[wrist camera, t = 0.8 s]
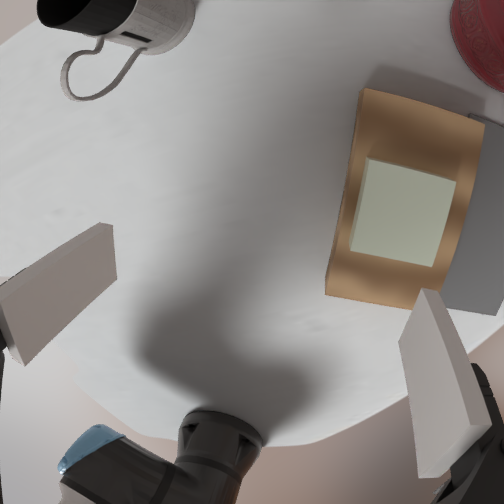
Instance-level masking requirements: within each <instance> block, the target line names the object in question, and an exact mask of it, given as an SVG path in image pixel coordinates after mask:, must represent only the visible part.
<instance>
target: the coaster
mask: <svg viewBox="0 0 504 504" xmlns="http://www.w3.org/2000/svg"><path fill="white" fill-rule="evenodd" d="M455 186H456V182H455V181H454V180H452V179H450V178H448V177H445V176H441V175H438V174H434V173H431V172H427V171H424V170H420V169H416V168H412V167H408V166H405V165H401V164H396V163H392V162H388V161H384V160H380V159H375V158H371V157H366V160H365V165H364V171H363V176H362V181H361V187H360V192H359V197H358V201H357V206H356V211H355V216H354V220H353V225H352V229H351V234H350V238H349V246H350V251H354V252H359V253H364V254H369V255H374V256H379V257H384V258H389V259H394V260H399V261H404V262H409V263H414V264H419V265H424V266H429V267H432V266H433V263H434V260H435V257H436V254H437V251H438V247H439V244H440V241H441V238H442V235H443V231H444V228H445V224H446V221H447V217H448V213H449V210H450V206H451V202H452V198H453V194H454V190H455Z"/></svg>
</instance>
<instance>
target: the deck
mask: <svg viewBox="0 0 504 504" xmlns="http://www.w3.org/2000/svg"><path fill="white" fill-rule="evenodd" d="M484 128H485V124H483V123H481V122H478V121H476V120H473V119H470V118H468V117H465V116H462V115H459V114H457V113H454V112H451V111H448V110H445V109H442V108H439V107H436V106H432V105H429V104H426V103H423V102H419V101H416V100H412V99H409V98H405V97H401V96H398V95H394V94H390V93H386V92H382V91H377V90H373V89H369V88H364V89H362V90H361V91H360V92H359V99H358V107H357V114H356V121H355V128H354V134H353V141H352V147H351V153H350V159H349V165H348V170H347V176H346V182H345V187H344V192H343V198H342V203H341V208H340V213H339V218H338V223H337V227H336V232H335V237H334V241H333V246H332V250H331V255H330V259H329V264H328V268H327V272H326V276H325V295H329V296H334V297H339V298H345V299H350V300H356V301H362V302H367V303H373V304H379V305H384V306H390V307H396V308H402V309H408V310H413V308H414V305H415V303H416V300H417V298H418V295H419V293H420V290H421V288H425V289H430V290H435V291H438V292H439V294H440V291H441V288H442V286H443V283H444V281H445V278H446V275H447V273H448V270H449V267H450V264H451V261H452V258H453V256H454V253H455V250H456V246H457V243H458V240H459V237H460V234H461V231H462V227H463V224H464V220H465V217H466V213H467V210H468V206H469V202H470V198H471V194H472V190H473V186H474V181H475V177H476V172H477V168H478V163H479V158H480V152H481V147H482V141H483V135H484ZM366 157H371V158H375V159H380V160H384V161H388V162H392V163H396V164H401V165H405V166H408V167H412V168H416V169H420V170H424V171H427V172H431V173H434V174H438V175H441V176H445V177H448V178H450V179H452V180H454V181H455V182H456V186H455V190H454V194H453V198H452V202H451V206H450V210H449V213H448V217H447V221H446V224H445V228H444V231H443V235H442V238H441V241H440V244H439V247H438V251H437V254H436V257H435V260H434V263H433V266H432V267H429V266H424V265H419V264H414V263H409V262H404V261H399V260H394V259H389V258H384V257H379V256H374V255H369V254H364V253H359V252H354V251H350V246H349V238H350V234H351V229H352V225H353V220H354V216H355V211H356V206H357V201H358V197H359V192H360V187H361V181H362V176H363V171H364V165H365V160H366Z"/></svg>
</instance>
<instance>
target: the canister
mask: <svg viewBox="0 0 504 504" xmlns="http://www.w3.org/2000/svg"><path fill="white" fill-rule="evenodd" d="M450 27H451V33H452V36H453V39H454V42H455V45H456V47H457V49H458V51H459V53H460V55H461V57H462V58H463V60H464V61H465V63H466V64H467V65H468V67H469V68H470V69H471V70H472V72H473V73H474V74H475V75H476V76H477V77H478V78H479V79H480V80H482V81H483V82H484V83H485V84H487V85H488V86H490V87H492V88H493V89H495V90H498V91H500V92H503V93H504V0H454V2H453V5H452V7H451V11H450Z"/></svg>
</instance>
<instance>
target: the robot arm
mask: <svg viewBox="0 0 504 504" xmlns="http://www.w3.org/2000/svg"><path fill="white" fill-rule="evenodd" d="M116 280H117V273H116V262H115V251H114V237H113V225H110V224H105V223H100V222H99V223H98V224H96V225H94V226H93V227H91V228H89V229H88V230H86V231H84V232H82V233H81V234H79V235H78V236H76V237H74V238H73V239H71V240H69V241H68V242H66V243H64V244H63V245H61V246H60V247H58V248H56V249H55V250H53V251H52V252H50V253H49V254H47V255H46V256H44V257H42V258H41V259H39V260H38V261H36V262H35V263H33V264H32V265H30V266H29V267H27V268H25V269H23V270H22V271H20V272H19V273H17V274H16V275H15V276H13V277H11V278H10V279H9V280H8V281H6V282H4V283H3V284H2V285H0V401H1V388H2V377H3V369H4V361H5V357H4V353H3V351H2V350H3V349H4V348H6V347H8V349H9V352H10V354H11V357H12V359H14V360H15V361H17V362H18V363H20V364H22V365H24V366H26V365H27V364H28V363H29V362H30V361H31V360H32V359H33V358H34V357H35V356H36V355H37V354H38V353H39V352H40V351H41V350H42V349H43V348H44V347H45V346H46V345H47V344H48V343H49V342H50V341H51V340H52V339H53V338H54V337H55V336H56V335H57V334H58V333H59V332H60V331H62V330H63V329H64V328H65V327H66V326H67V325H68V324H69V323H70V322H71V321H72V320H73V319H74V318H75V317H76V316H77V315H78V314H79V313H80V312H82V311H83V310H84V309H85V308H86V307H87V306H88V305H89V304H90V303H91V302H92V301H93V300H95V299H96V298H97V297H98V296H99V295H100V294H101V293H102V292H103V291H104V290H106V289H107V288H108V287H109V286H110V285H111V284H112V283H113V282H114V281H116ZM398 343H399V348H400V352H401V357H402V362H403V367H404V373H405V378H406V384H407V390H408V395H409V402H410V408H411V414H412V422H413V429H414V437H415V446H416V455H417V465H418V478H433V477H434V478H435V477H440V476H441V475H442V474H444V473H445V472H446V471H447V470H448V469H449V468H450V470H451V478H450V479H448V480H447V481H446V482H445V483H444V484H442V485H441V486H440V487H439V488H437V489H436V490H435V491H434V492H433V494H436V493H438V492H439V493H438V494H437V496H436V497H435V499H434V500H433V501H432V503H431V504H504V424H503V420H502V417H501V414H500V412H499V409H498V406H497V403H496V400H495V398H494V397H493V393H492V390H491V388H490V387H489V386H490V385H489V382H488V380H487V377H486V375H485V373H484V372H483V371H482V369H481V368H480V367H479V366H478V365H477V364H475V363H470V361H469V358H468V356H467V353H466V351H465V349H464V346H463V344H462V342H461V339H460V337H459V335H458V332H457V330H456V328H455V326H454V324H453V321H452V319H451V317H450V315H449V313H448V311H447V309H446V307H445V305H444V303H443V300H442V298H441V296H440V294H439V292H438V291H435V290H430V289H425V288H421V290H420V293H419V295H418V298H417V300H416V303H415V305H414V308H413V310H412V312H411V315H410V317H409V319H408V322H407V324H406V326H405V328H404V331H403V333H402V335H401V337H400V339H399V341H398ZM261 448H262V439H261V437H260V435H259V434H258V432H257V431H256V430H255V429H254V428H252V427H251V426H250V425H248V424H247V423H245V422H243V421H241V420H239V419H237V418H235V417H232V416H229V415H226V414H222V413H218V412H211V411H199V412H194V413H191V414H189V415H187V416H186V417H185V418H184V419H183V422H182V424H181V426H180V428H179V434H178V452H177V458H176V461H175V463H174V464H172V463H170V462H168V461H167V460H165V459H163V458H161V457H159V456H157V455H156V454H153V453H152V452H150V451H148V450H146V449H145V448H143V447H141V446H140V445H138V444H136V443H135V442H133V441H131V440H129V439H128V438H126V436H125V435H124V434H120V433H118V432H116V431H115V430H113V429H111V428H109V427H108V426H105V425H103V424H98V425H95V426H92V427H91V428H90V429H88V430H87V431H86V432H84V433H83V434H82V435H81V436H80V437H79V438H78V439H77V440H76V441H75V442H74V444H73V445H72V446H71V447H70V448H69V449H68V451H67V452H66V453H65V456H64V457H63V458H62V459H61V461H60V462H59V464H58V470H59V472H60V474H62V475H64V476H63V478H62V479H61V481H60V482H59V486H60V489H61V492H62V499H61V501H60V503H59V504H235V503H236V500H237V496H238V493H239V489H240V486H241V482H242V479H243V477H244V476H245V475H246V473H247V472H248V470H249V469H250V468H251V467H252V465H253V464H254V463H255V461H256V460H257V459H258V457H259V455H260V452H261ZM0 504H3V498H2V488H1V476H0Z"/></svg>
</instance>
